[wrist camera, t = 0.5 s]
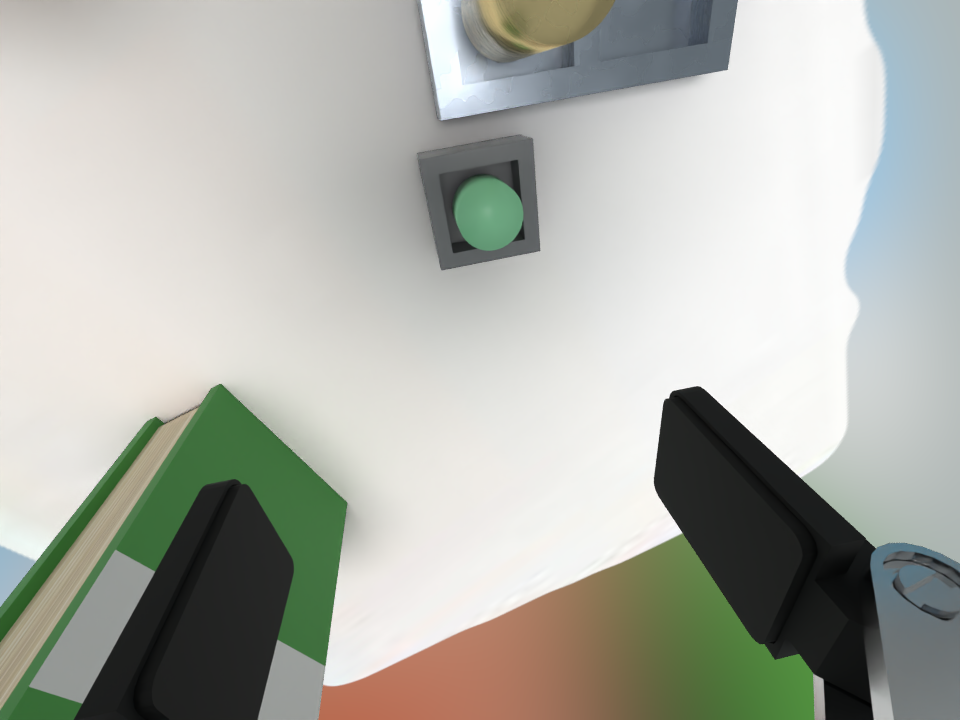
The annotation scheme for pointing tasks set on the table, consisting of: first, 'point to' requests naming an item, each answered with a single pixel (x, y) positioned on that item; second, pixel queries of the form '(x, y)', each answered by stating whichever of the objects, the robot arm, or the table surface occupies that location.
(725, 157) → the table surface
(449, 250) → the grey button housing
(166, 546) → the hardback book
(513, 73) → the metal compartment tray
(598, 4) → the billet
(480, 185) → the button
